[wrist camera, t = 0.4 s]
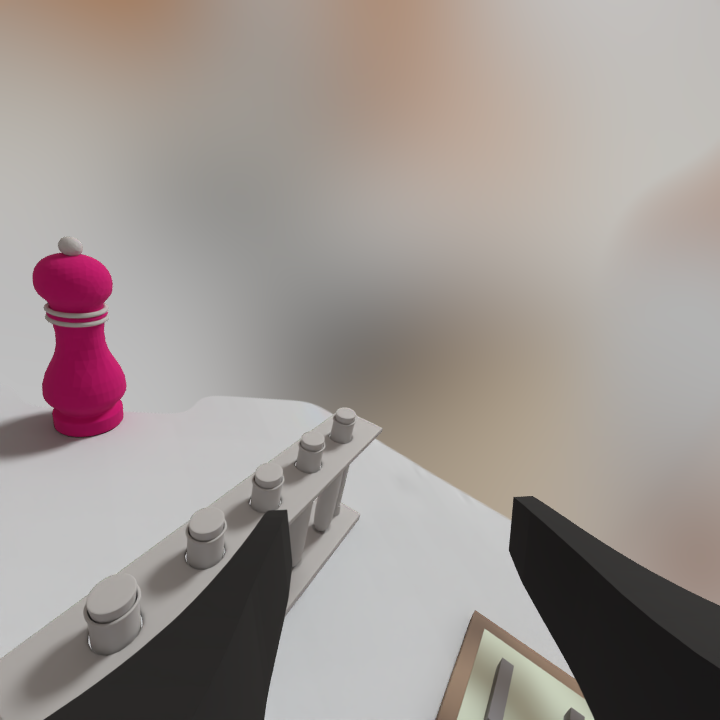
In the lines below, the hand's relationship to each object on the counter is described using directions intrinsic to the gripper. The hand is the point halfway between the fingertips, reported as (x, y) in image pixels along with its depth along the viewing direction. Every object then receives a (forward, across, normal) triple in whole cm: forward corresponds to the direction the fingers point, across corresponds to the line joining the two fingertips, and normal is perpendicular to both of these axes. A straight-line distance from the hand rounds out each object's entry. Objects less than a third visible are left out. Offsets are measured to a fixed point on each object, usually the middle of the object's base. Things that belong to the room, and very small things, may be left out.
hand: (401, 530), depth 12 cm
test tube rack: (+12, +9, +16) cm, 22 cm away
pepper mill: (+30, +31, +8) cm, 43 cm away
